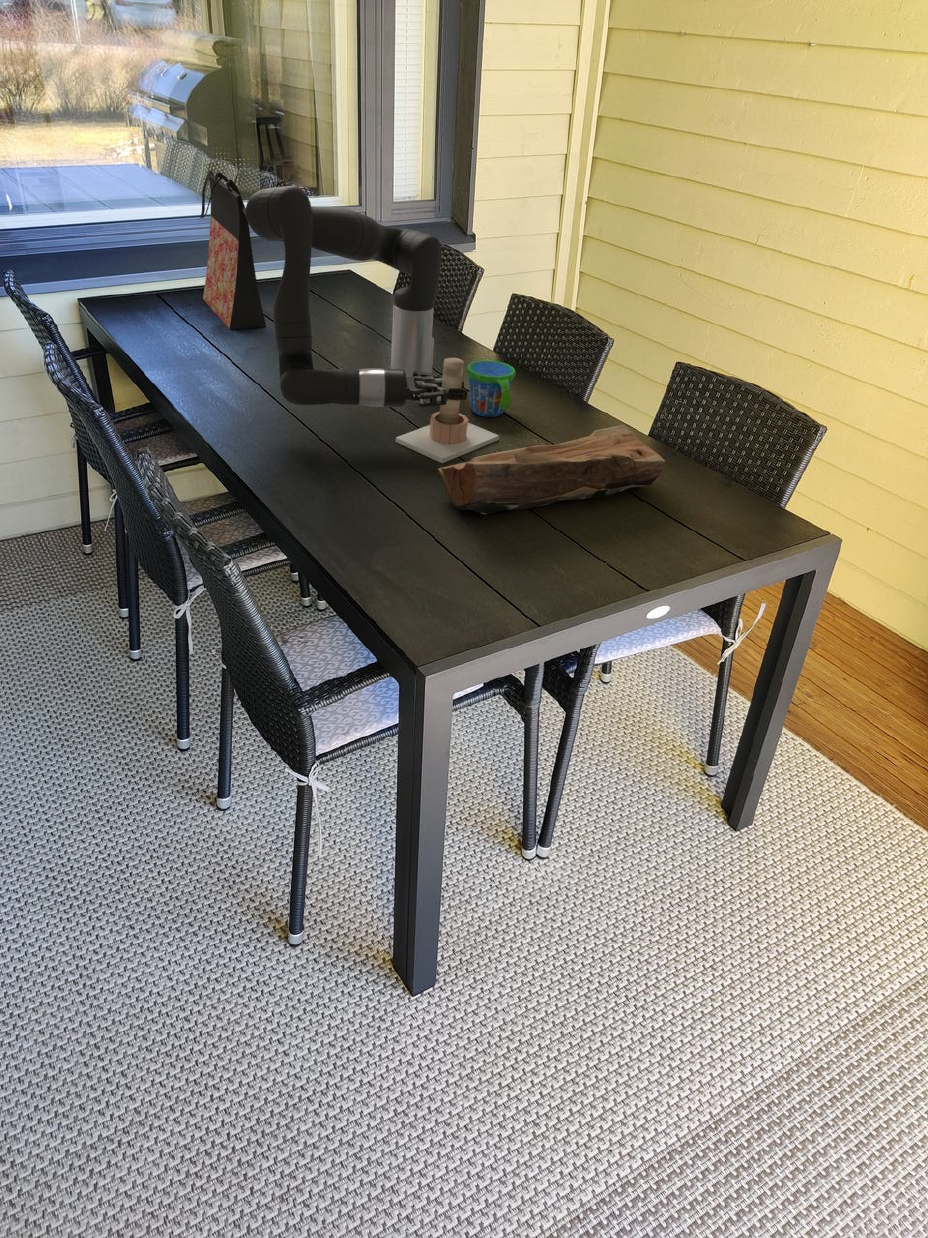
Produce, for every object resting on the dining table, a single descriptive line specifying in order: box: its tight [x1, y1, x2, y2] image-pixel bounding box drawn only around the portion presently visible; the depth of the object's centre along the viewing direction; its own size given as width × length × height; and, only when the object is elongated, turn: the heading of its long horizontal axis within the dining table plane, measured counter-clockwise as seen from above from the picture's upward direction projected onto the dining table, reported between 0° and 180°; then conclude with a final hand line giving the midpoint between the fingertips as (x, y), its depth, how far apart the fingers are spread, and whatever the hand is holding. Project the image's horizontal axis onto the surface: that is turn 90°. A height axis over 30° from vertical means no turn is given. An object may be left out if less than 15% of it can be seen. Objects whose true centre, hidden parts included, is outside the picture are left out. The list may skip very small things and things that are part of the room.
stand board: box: [395, 422, 500, 464], centre depth 206 cm, size 18×13×1 cm
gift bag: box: [199, 170, 267, 330], centre depth 251 cm, size 29×14×35 cm, turn 27°
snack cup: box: [466, 359, 517, 418], centre depth 218 cm, size 16×10×10 cm
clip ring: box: [429, 411, 469, 444], centre depth 204 cm, size 8×8×4 cm
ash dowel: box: [439, 357, 465, 425], centre depth 200 cm, size 4×4×14 cm
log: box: [437, 424, 666, 515], centre depth 186 cm, size 42×18×15 cm, turn 115°
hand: (464, 390), depth 200 cm, fingers closed on ash dowel, 4 cm apart
